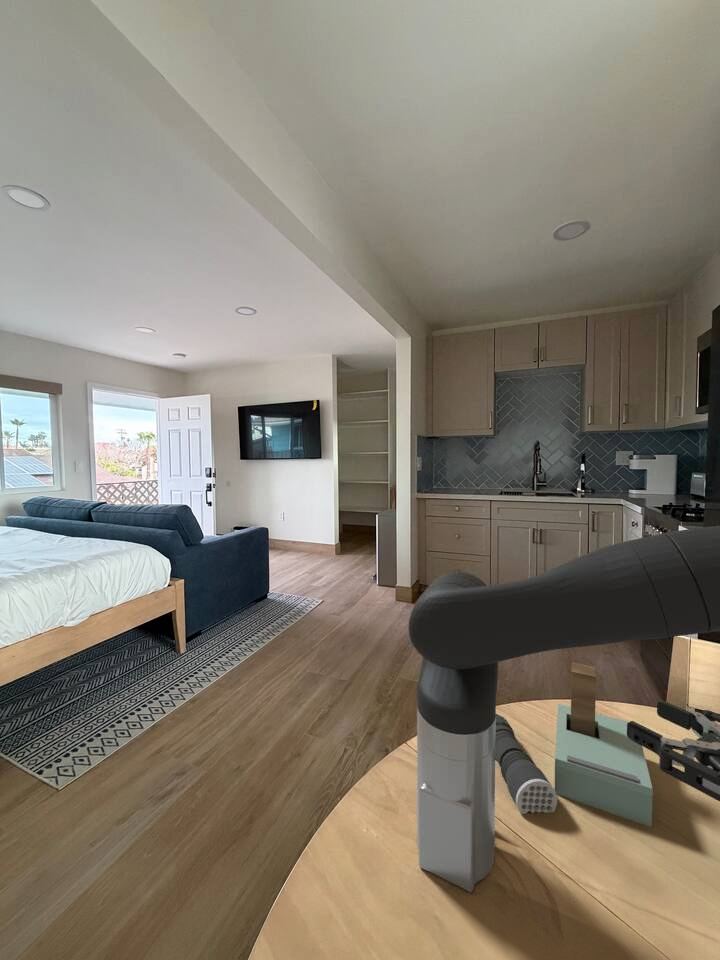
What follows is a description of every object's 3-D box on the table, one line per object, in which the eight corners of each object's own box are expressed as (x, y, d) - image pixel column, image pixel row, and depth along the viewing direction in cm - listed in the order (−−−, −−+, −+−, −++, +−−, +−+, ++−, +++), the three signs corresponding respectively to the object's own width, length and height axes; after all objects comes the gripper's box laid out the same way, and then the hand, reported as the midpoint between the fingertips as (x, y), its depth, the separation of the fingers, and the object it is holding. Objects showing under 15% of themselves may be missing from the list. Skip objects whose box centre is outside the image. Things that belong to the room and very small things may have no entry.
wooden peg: (594, 767, 60) (595, 676, 59) (570, 760, 61) (571, 671, 60) (593, 753, 62) (594, 666, 62) (570, 746, 64) (571, 662, 63)
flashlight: (475, 741, 67) (476, 710, 67) (506, 739, 68) (507, 708, 67) (517, 822, 52) (517, 782, 52) (557, 820, 52) (557, 780, 52)
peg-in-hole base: (651, 834, 50) (652, 786, 50) (554, 800, 55) (555, 756, 55) (635, 760, 62) (636, 721, 62) (557, 738, 67) (558, 702, 67)
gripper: (840, 742, 44) (667, 675, 58) (807, 800, 37) (617, 707, 50) (837, 807, 44) (665, 725, 58) (803, 877, 37) (616, 764, 51)
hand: (643, 717), depth 54 cm, fingers open, 8 cm apart
